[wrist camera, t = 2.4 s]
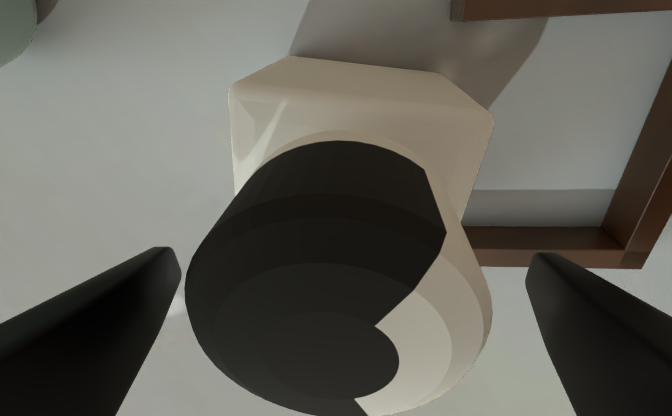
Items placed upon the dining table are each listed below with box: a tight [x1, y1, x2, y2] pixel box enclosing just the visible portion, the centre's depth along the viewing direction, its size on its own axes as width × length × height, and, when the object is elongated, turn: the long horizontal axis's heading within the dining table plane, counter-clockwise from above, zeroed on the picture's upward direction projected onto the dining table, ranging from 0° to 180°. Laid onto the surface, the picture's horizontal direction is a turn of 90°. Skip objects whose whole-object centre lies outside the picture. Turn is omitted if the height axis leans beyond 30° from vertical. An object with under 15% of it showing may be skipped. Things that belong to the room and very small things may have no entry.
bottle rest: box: [450, 0, 672, 269], centre depth 14 cm, size 10×12×2 cm
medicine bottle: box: [185, 56, 494, 416], centre depth 11 cm, size 7×7×12 cm
